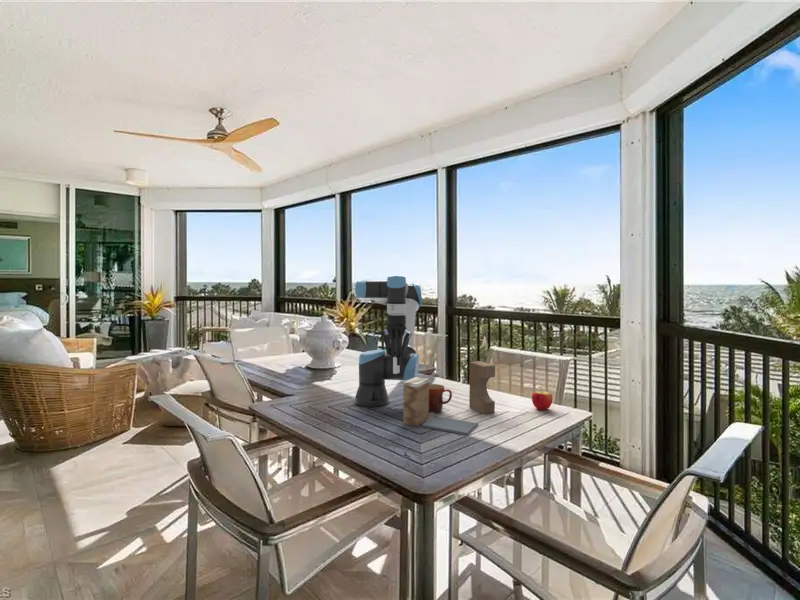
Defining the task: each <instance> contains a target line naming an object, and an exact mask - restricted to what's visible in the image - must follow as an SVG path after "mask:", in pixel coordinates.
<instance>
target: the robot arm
mask: <svg viewBox="0 0 800 600" xmlns="http://www.w3.org/2000/svg"><path fill="white" fill-rule="evenodd" d="M354 286H355V287H354V292H355V296H356V298H358V299H370V300H373V301H374V302H375V303H377V304H380V305H384V306H386V313H387V315H386V324H387V326H386V329H384V330H382V331H381V335H382V336H383V341H384V346H385V350H384V349H372V350H367V351H364V352H362V353H360V354H359V357H358V388H357V391H356V394H355V398H354V403H355V404H356V405H358V406H359V407H360V406H361V407H366V408H367V407H370V408H372V407H373V408H374V407H381V406H385V405H387V404H389V401H390V397H389V393H388V390H387V386H386V380H387V381H404V382H405V381H407V380H410V379H412V378H414V377H418V372H419V365H420V355H419V354H418V353H417V350H415V348H414V344H415V343H414V342H415V330H416V329H415V328H416V313H417V311H418V310H419V309H420V307H422V306H423V297H422V288H421V284H419V283H415V282H409V283H407V278H406V276H405V275H389V276H387V280H381V279H380V280H374V279H371V280H369V279H368V280H365V279H363V280H361V279H360V280H357V281H356V282H355V285H354Z"/></svg>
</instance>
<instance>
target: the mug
mask: <svg viewBox="0 0 800 600" xmlns="http://www.w3.org/2000/svg"><path fill="white" fill-rule="evenodd" d="M445 392H447V393H449V397H448V399H447V400H444V397H443V396H444V393H445ZM452 397H453V392H452V390H451V389H450V388H445V385H443V384H438V383H429V413H440V412H441V411H442V410H443V406H444V405H445V404H448V403H450V402H451V400H452Z"/></svg>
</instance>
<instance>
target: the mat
mask: <svg viewBox="0 0 800 600" xmlns="http://www.w3.org/2000/svg"><path fill="white" fill-rule="evenodd" d="M421 426H422V427H423V428H427V429H431V430H432V429H433V430H439V431H443V432H449V433H453V434H459V435H466V436H468V435H469V434H471V432H473V431H474V429H476V428H477V427H478V426H479V423H478V422H474V421H467V420H461V419H456V418H450V417H444V416H439V415H434V416H433V417H431V418H429V419H427V420H426V421H424V422H423V424H422V423H421Z"/></svg>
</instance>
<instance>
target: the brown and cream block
mask: <svg viewBox="0 0 800 600" xmlns="http://www.w3.org/2000/svg"><path fill="white" fill-rule="evenodd" d="M402 383H403V424H405V425H409V426H410V425H411V426H415V427H418V426H419V425H422V423H423V424H424V423H425V422H427V421H428V420H430V414H429V413H430V412H429V384H430V378H425V377H418V376H416V377H414V378H412V379H410V380H407V381H405V380H404V381H403V382H402Z"/></svg>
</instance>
